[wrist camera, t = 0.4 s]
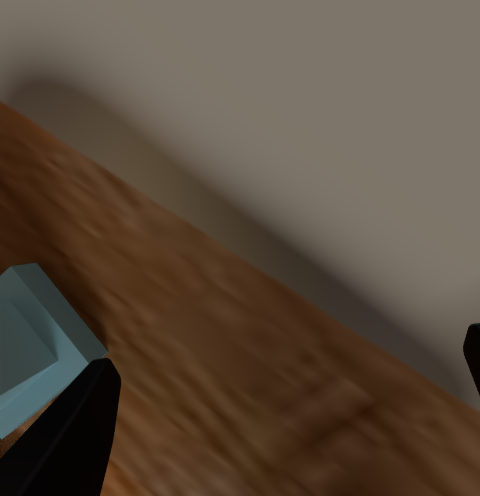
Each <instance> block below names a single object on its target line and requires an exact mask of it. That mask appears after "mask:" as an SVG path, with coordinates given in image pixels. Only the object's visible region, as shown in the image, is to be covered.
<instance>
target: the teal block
mask: <svg viewBox="0 0 480 496" xmlns="http://www.w3.org/2000/svg"><path fill="white" fill-rule="evenodd" d="M107 353H108V351H107V350H106V349H105V347H104V346H103V345H102V344H101V342H100V341H99V340H98V339H97V337H96V336H95V335H94V334H93V332H92V331H91V330H90V329H89V327H88V326H87V325H86V324H85V322H84V321H83V320H82V319H81V318H80V316H79V315H78V314H77V313H76V311H75V310H74V309H73V308H72V306H71V305H70V304H69V303H68V301H67V300H66V299H65V298H64V296H63V295H62V294H61V293H60V291H59V290H58V289H57V288H56V286H55V285H54V284H53V283H52V281H51V280H50V279H49V278H48V276H47V275H46V274H45V273H44V271H43V270H42V269H41V268H40V266H39V265H38V264H37V263H31V264H23V265H16V266H11V267H9V268H8V269H7V270H6V271H5V272H4V273H3V274H2V275H1V276H0V438H1V440H2V439H3V438H4V437H6V436H7V435H8V434H10V433H11V432H12V431H13V430H15V429H16V428H17V427H19V426H20V425H21V424H23V423H24V422H25V421H27V420H28V419H29V418H30V417H32V416H33V415H34V414H35V413H36V412H38V411H39V410H40V409H41V408H42V407H44V406H45V405H46V404H47V403H48V402H50V401H51V400H52V399H53V398H54V397H56V396H57V395H58V394H59V393H60V392H62V391H63V390H64V389H65V388H66V387H67V386H68V385H69V384H70V383H71V382H72V381H73V380H74V379H75V378H76V377H77V376H78V375H79V374H80V373H81V372H82V370H83V369H84V368H85V367H86V366H87V365H88V364H89V363H90V362H91V361H92V360H94V359H100V358H102V357H103V356H105V355H106V354H107Z"/></svg>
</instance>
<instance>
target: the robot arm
mask: <svg viewBox="0 0 480 496" xmlns="http://www.w3.org/2000/svg"><path fill="white" fill-rule="evenodd" d="M463 352H464V356H465V359H466V361H467V364H468V366H469V369H470V372H471V374H472V377H473V379H474V382H475V385H476V387H477V390H478V392H479V395H480V323H475V324H471V325H470V326H469V327H468V331H467V334H466V338H465V341H464V345H463ZM120 389H121V378H120V375H119V373H118V372H117V370H116V368H115V366H114V365H113V363H112V361H111V360H110V359H109V358H100V359H94V360H92V361H91V362H90V363H89V364H88V365H87V366H86V367H85V368H84V369H83V370H82V372H81V373H80V374H79V375H78V376H77V377H76V378H75V379H74V380H73V381H72V382H71V383H70V384H69V385H68V386H67V388H66V389H65V390H64V391H63V392H62V393H61V394H60V395H59V396H58V397H57V398H56V399H55V400H54V401H53V403H52V404H51V405H50V406H49V407H48V408H47V409H46V410H45V411H44V412H43V413H42V414H41V415H40V416H39V418H38V419H37V420H36V421H35V422H34V423H33V424H32V425H31V426H30V427H29V428H28V429H27V430H26V431H25V433H24V434H23V435H22V436H21V437H20V438H19V439H18V440H17V441H16V442H15V443H14V444H13V445H12V446H11V447H10V449H9V450H8V451H7V452H6V453H5V454H4V455H3V456H2V457H1V458H0V496H100V493H101V489H102V485H103V481H104V477H105V473H106V469H107V465H108V461H109V457H110V453H111V448H112V444H113V438H114V432H115V425H116V418H117V410H118V403H119V396H120Z"/></svg>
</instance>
